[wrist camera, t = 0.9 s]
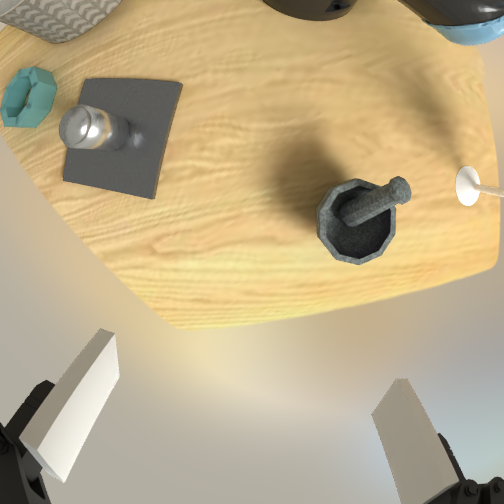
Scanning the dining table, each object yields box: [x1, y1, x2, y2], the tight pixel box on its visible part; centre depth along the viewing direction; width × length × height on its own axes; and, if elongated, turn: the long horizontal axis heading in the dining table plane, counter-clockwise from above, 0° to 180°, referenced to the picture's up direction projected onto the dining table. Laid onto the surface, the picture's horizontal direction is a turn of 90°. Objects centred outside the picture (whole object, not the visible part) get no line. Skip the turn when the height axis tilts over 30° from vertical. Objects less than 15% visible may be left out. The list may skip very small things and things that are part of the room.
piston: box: [59, 79, 183, 199], centre depth 27 cm, size 16×16×11 cm
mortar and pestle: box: [316, 176, 411, 265], centre depth 30 cm, size 11×9×12 cm
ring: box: [0, 67, 57, 128], centre depth 27 cm, size 10×10×5 cm
